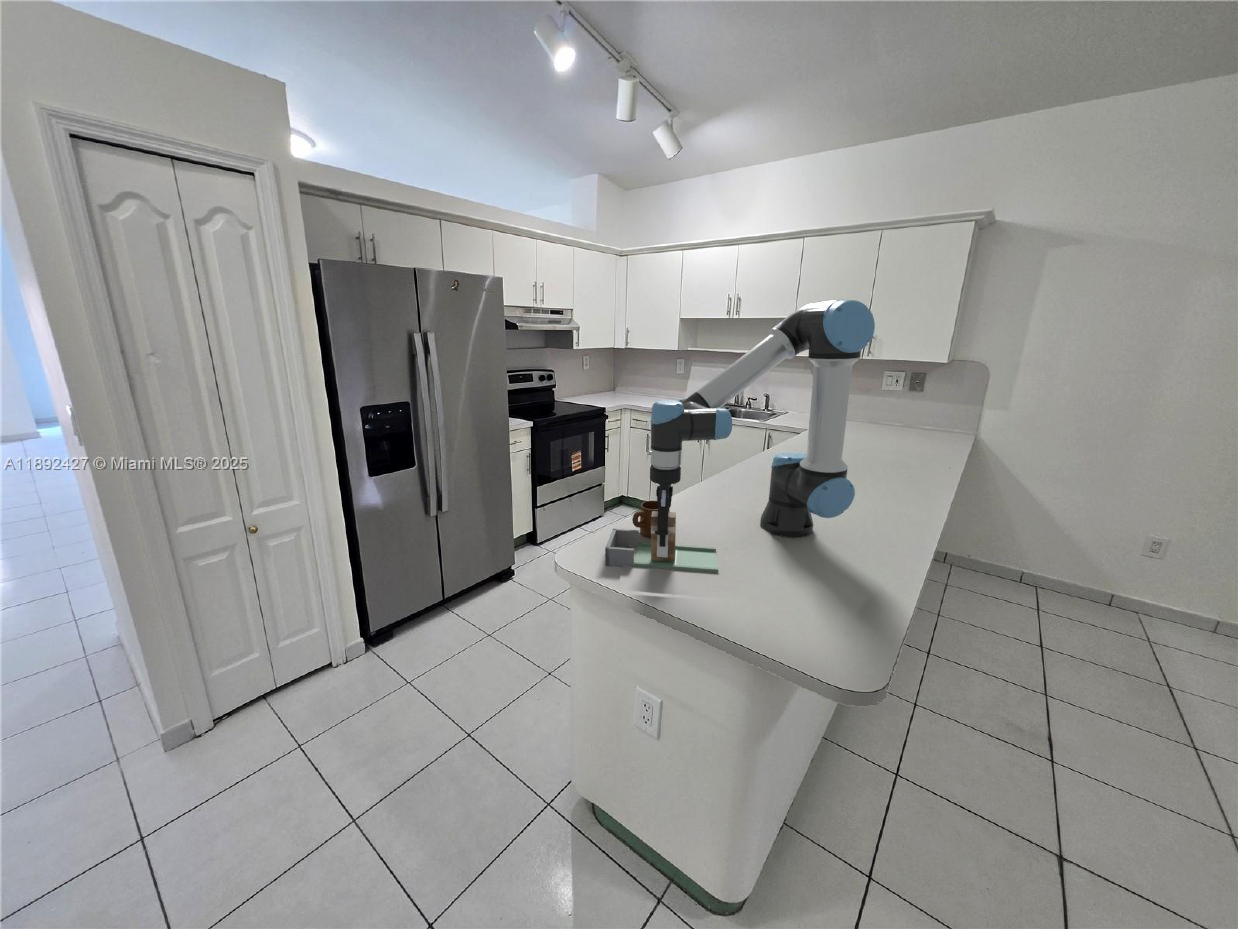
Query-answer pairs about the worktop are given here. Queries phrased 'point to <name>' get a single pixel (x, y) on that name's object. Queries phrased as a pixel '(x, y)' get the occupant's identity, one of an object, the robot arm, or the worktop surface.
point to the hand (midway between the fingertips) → (662, 552)
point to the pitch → (684, 560)
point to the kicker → (670, 536)
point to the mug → (645, 517)
